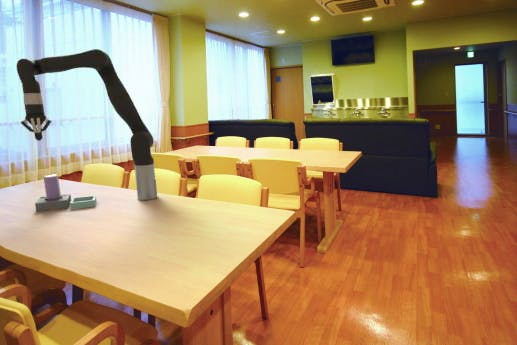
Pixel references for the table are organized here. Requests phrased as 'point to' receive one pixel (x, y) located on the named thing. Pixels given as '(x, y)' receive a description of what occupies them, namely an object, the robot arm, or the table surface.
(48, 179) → the beverage can
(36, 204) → the port
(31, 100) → the robot arm
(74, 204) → the teal square frame
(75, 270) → the table surface
